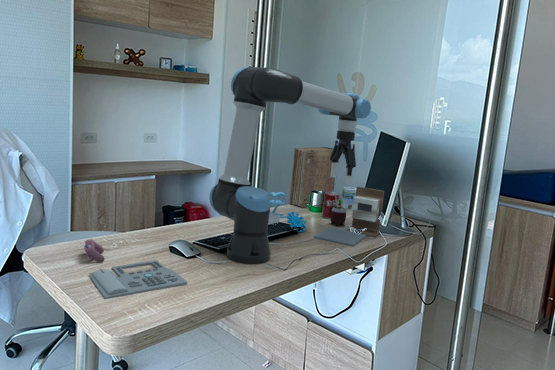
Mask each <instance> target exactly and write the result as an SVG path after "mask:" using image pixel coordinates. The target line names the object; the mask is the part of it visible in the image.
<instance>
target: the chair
mask: <svg viewBox="0 0 555 370" xmlns="http://www.w3.org/2000/svg"><path fill="white" fill-rule="evenodd" d="M267 193H268V194H269V195H270V196H272V197H273V198H274V199H271V197H270V206H272V205H273V206H275V207H274V209H273V210H272V211H271V212H273V213H276V211H277V210H278V208H279V206H280V205H286V204H287V203H286V202H285V199H286V194H285V193H284V192H283V191H279V192H275V191H272V192H267ZM279 197H281V198H282V200H280V199H279ZM278 214H280V219H287V218H286V217H287V215H286V214H281V213H278Z"/></svg>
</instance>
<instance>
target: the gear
mask: <svg viewBox="0 0 555 370" xmlns="http://www.w3.org/2000/svg"><path fill="white" fill-rule="evenodd" d="M285 219H288V220H287V221H286V222H287V224H290V225H289V226H290V227H291V229H293V228H296V227H303V230H302V229H301V230H300V231H298V230H297V232H298V233H300V234H301V233H302V232H305V231H306V228H307V224H306V223H308V220H307V219H305V220H303V219H304V217H303V215H301V216H300V213H299V212H295V211H293V210H292V211H290V212H288V213H287V215H286V218H285Z"/></svg>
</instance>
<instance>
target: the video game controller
mask: <svg viewBox="0 0 555 370" xmlns="http://www.w3.org/2000/svg"><path fill="white" fill-rule="evenodd" d="M84 251H85V254H86V255H87V257H88V258H89V259H90V260H92V261H95V262H98V263H103V262H104V261H105V256H104V255H103V254H102V253H104V251H105V249H104V247H103V246H102V245H100V244H99V243H97V242H96V241H95V239H92V238H90V239H86V240H85V241H84Z"/></svg>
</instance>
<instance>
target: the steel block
mask: <svg viewBox="0 0 555 370" xmlns="http://www.w3.org/2000/svg"><path fill="white" fill-rule="evenodd" d="M280 214H281V213H279V214H278V213H277V212H275V213H273V212H272V211H270V212H269V222H268V225H269V224H270V225H274V224H273V223H277V224H279V223H280V220H281V218H280ZM278 222H279V223H278Z"/></svg>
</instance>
